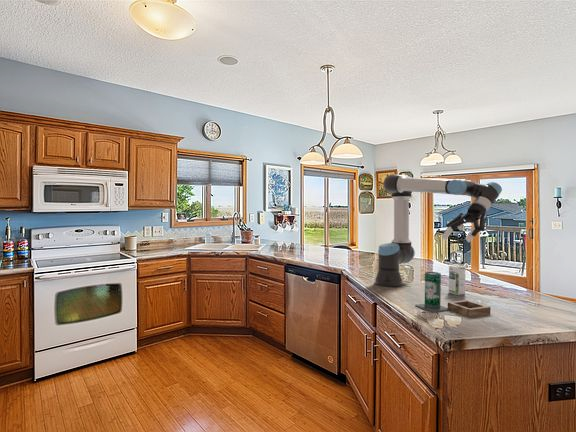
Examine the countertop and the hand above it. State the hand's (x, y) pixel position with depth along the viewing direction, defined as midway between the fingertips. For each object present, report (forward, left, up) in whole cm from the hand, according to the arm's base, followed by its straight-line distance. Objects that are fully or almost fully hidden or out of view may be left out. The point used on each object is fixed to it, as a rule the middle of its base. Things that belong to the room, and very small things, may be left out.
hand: (455, 239), depth 156 cm
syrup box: (-10, +12, -30) cm, 34 cm away
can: (+6, -19, -29) cm, 35 cm away
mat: (+6, -19, -30) cm, 36 cm away
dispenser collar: (+15, -8, -30) cm, 34 cm away
